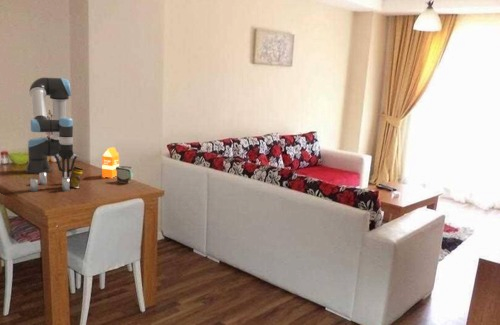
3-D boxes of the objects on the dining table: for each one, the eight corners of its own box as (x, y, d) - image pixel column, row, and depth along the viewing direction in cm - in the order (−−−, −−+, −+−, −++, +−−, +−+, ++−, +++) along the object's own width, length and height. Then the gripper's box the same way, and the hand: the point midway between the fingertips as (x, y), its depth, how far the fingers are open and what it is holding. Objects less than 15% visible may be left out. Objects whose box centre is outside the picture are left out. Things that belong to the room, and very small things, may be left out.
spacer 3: (62, 189, 252) (62, 178, 251) (70, 189, 254) (69, 178, 252) (61, 191, 249) (61, 179, 247) (69, 191, 250) (69, 179, 249)
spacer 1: (31, 189, 248) (30, 178, 246) (38, 189, 249) (38, 178, 247) (29, 191, 244) (29, 179, 243) (37, 191, 245) (37, 179, 244)
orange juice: (102, 177, 288) (101, 148, 285) (109, 174, 297) (109, 146, 293) (112, 178, 287) (112, 149, 283) (119, 175, 295) (119, 147, 292)
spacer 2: (40, 183, 263) (39, 172, 262) (47, 183, 264) (47, 172, 263) (39, 184, 260) (38, 173, 258) (46, 184, 261) (45, 173, 259)
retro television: (136, 182, 280) (136, 167, 278) (130, 184, 274) (130, 169, 272) (121, 179, 285) (121, 165, 283) (115, 181, 279) (115, 166, 277)
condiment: (79, 188, 257) (85, 169, 256) (64, 185, 253) (70, 166, 252) (78, 185, 263) (83, 167, 263) (63, 182, 259) (69, 163, 259)
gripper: (53, 144, 248) (53, 183, 252) (76, 145, 251) (76, 183, 255) (55, 142, 255) (55, 181, 259) (78, 143, 259) (78, 181, 262)
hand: (65, 182), depth 257 cm, fingers closed
